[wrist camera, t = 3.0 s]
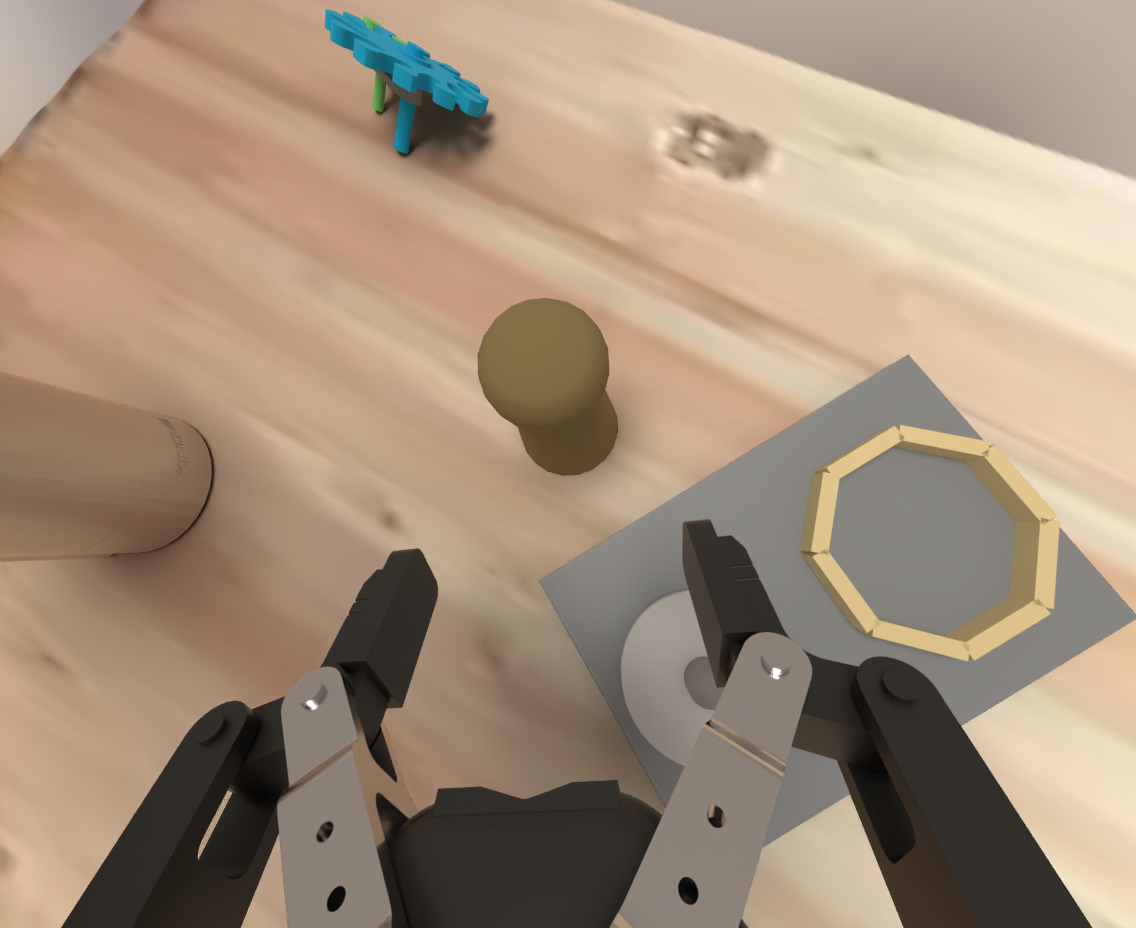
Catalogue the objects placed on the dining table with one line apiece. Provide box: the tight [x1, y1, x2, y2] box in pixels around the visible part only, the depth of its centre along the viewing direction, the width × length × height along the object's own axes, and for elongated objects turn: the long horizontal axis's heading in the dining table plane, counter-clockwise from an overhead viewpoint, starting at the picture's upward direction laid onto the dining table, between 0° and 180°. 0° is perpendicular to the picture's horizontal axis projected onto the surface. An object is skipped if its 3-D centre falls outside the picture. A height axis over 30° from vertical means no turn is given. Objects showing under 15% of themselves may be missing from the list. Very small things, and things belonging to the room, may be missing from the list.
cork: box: [478, 298, 618, 475], centre depth 20 cm, size 6×6×11 cm
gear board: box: [539, 355, 1136, 847], centre depth 20 cm, size 24×16×4 cm, turn 121°
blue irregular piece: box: [325, 10, 489, 154], centre depth 28 cm, size 11×6×10 cm
